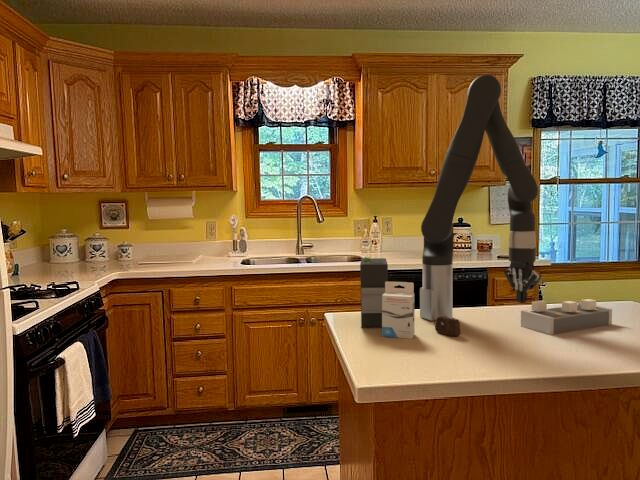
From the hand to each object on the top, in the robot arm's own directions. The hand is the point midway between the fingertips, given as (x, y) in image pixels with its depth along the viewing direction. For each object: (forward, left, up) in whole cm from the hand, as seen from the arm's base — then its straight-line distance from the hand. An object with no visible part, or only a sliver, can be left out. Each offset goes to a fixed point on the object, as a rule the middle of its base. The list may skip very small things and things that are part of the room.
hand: (521, 302), depth 150 cm
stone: (-29, -2, -6) cm, 30 cm away
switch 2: (+7, -11, -2) cm, 13 cm away
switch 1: (0, -7, -2) cm, 7 cm away
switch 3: (+14, -12, -2) cm, 18 cm away
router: (-40, +20, -6) cm, 45 cm away
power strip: (+7, -10, -6) cm, 13 cm away
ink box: (-42, +3, -6) cm, 43 cm away
